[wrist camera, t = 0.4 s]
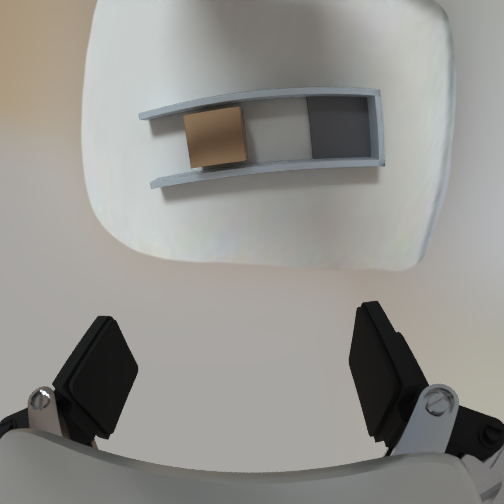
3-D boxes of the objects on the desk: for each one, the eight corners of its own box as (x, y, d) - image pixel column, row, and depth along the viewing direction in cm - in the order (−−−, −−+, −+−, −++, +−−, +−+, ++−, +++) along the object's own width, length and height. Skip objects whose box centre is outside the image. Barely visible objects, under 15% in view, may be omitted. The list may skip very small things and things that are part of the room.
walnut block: (194, 117, 30) (183, 115, 26) (241, 109, 30) (239, 106, 25) (200, 162, 33) (191, 168, 28) (247, 156, 32) (245, 160, 28)
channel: (147, 114, 30) (138, 113, 27) (370, 92, 28) (379, 89, 25) (159, 183, 34) (151, 188, 31) (375, 162, 32) (385, 166, 29)
